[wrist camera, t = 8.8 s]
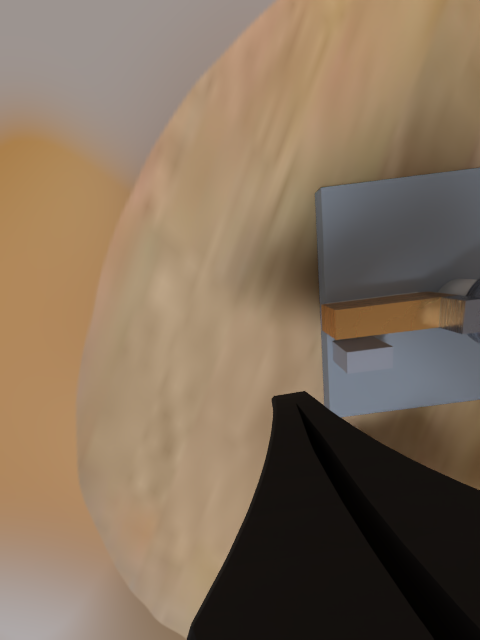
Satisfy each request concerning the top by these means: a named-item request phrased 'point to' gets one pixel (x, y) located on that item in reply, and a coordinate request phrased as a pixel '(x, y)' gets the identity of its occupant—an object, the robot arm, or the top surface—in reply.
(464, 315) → the lever handle
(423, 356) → the base
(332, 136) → the top surface
